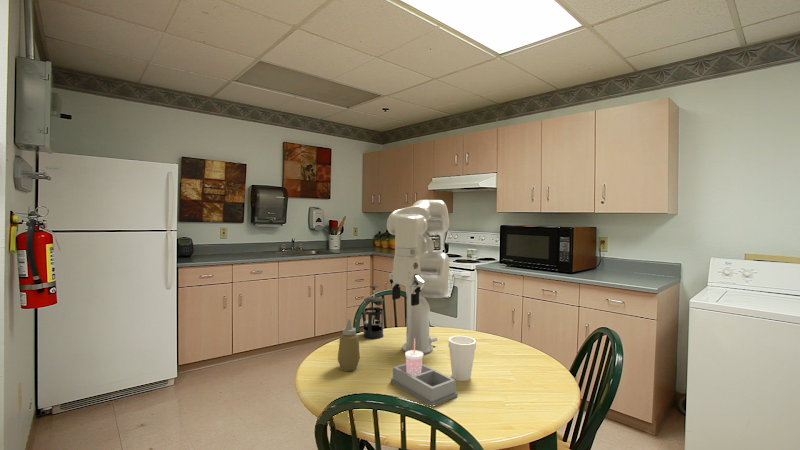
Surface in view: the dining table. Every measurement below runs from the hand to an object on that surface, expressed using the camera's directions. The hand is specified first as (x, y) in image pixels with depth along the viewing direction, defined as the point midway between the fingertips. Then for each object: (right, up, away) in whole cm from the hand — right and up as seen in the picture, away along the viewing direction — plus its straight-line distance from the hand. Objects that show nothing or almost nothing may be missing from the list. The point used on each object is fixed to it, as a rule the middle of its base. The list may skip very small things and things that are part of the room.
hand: (405, 301), depth 130 cm
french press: (-14, -25, +45) cm, 53 cm away
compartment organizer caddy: (+6, -27, -8) cm, 28 cm away
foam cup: (+20, -27, +2) cm, 33 cm away
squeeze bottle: (-20, -26, +8) cm, 34 cm away
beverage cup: (+3, -26, -4) cm, 26 cm away
